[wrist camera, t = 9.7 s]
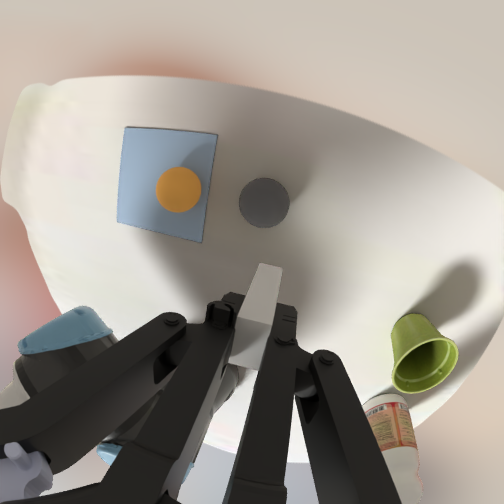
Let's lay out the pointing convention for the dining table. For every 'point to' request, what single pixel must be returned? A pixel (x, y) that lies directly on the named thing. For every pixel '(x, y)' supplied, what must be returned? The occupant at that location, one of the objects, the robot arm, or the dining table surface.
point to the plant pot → (420, 354)
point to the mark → (149, 171)
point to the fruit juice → (396, 443)
